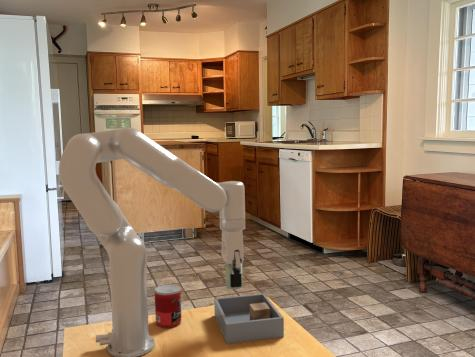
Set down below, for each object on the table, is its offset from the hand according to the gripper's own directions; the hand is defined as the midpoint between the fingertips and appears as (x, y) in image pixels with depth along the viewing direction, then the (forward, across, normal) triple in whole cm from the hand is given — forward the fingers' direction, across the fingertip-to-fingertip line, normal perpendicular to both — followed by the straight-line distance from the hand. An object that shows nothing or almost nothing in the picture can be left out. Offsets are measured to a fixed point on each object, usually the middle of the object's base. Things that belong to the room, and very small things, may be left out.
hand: (234, 282), depth 130 cm
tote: (+14, 0, +4) cm, 14 cm away
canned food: (+14, -8, -19) cm, 25 cm away
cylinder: (+1, 0, 0) cm, 1 cm away
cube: (+13, 0, +8) cm, 15 cm away
